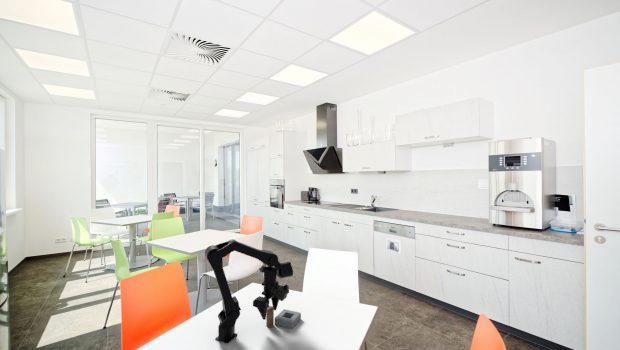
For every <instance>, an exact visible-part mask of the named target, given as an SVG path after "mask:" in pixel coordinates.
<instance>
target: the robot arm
mask: <svg viewBox="0 0 620 350" xmlns="http://www.w3.org/2000/svg"><path fill="white" fill-rule="evenodd" d="M232 252H236V253H240V254H243V255H245V256H247V257H248V256H249V257H251V258H254V259H257V260H258V261H260V262H261V263H262V264H264V265H262V266H261V267H260V268H259V269H258V271H260V272H261V273H263V282H261V286H263V291H262V292H261V295H262V296H258V297H256V298H255V299H253V301H252V307H254V308H256V309H257V310H258V312H259V314H260V316H261V318H262V320H264V321H265V320H266V312H267V308H268V307H269V306H270V300H271V304H272V305H271V306H272V307H274V311H277V308H278V305H279V303H280V302H279V301H281V302H283V301H285V299H287V297H288V294H290V287H289V285H288V284H284V285H280V282H279V281H278V280H277V277H278V279H280V280H281V279H285V278H290V277H293V274H294V270H293V266H292V262H290V261H285V262H280V261H279V257H278V255H277V254H276V253H274V252H273V251H271V250H268V249H266V250H265V249H259V248H255V247H253V246H251V245H248V244H245V243H243V242H240V241H237V240H236V239H230V240H229V239H228V240H227V241H224V242H221V243H218V244H216V245H215V244H213V245H212V244H211V245H209V246H207V247H206V249H205V250H204V255H205V258H206V259H207V261H208V263H209V265H210V266H211V268H212V271H213V273H214V276H215V279H216V283H217V286H218V288H219V292H220V295H221V298H222V300H221V302H222V303H221V304H222V310H221V311H220V312H219V313H218V314H217V318H218V320H219V324H218V330H217V331H218V336H216V337H215V338H214V339H215V341H218V342H222V343H224V344H229V343H230V342H231V341H232V340H234V339H235V338H236V337H237V336H238V333H236V332H235V330H236V327H235V325H236V323H237V320H238V319H239V317H240V315H241V312H240V311H242V308H241V307H240V302H239V299H237V297H236V295H234V296H232V292H231V289H230V287H229V283H228V280H227V276H226V273H225V270H224V263H223V258H225V257H227V256H228V255H229V254H231V253H232ZM265 265H266V266H265Z"/></svg>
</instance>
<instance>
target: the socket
mask: <svg viewBox="0 0 620 350" xmlns="http://www.w3.org/2000/svg"><path fill="white" fill-rule="evenodd" d="M301 320H302V313H301V312H297V311H294V310H289V309H285V308H284V309H282V310H281V311H280V312H279V313H278V314H277V315H276V316H274V326H278V327H283V328H287V329H291V330H293V329H294V328H295V326H296V325H297V324H298V323H299V322H300V321H301Z"/></svg>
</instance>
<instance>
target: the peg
mask: <svg viewBox="0 0 620 350" xmlns="http://www.w3.org/2000/svg"><path fill="white" fill-rule="evenodd" d="M274 312H275V310H274V307H273V305H271V306H269V307H268V308H267V312H266V319H265V320H266V327H267V328H270V329H271V328H273V327H274V326H275V316H274V315H275V313H274Z"/></svg>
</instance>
